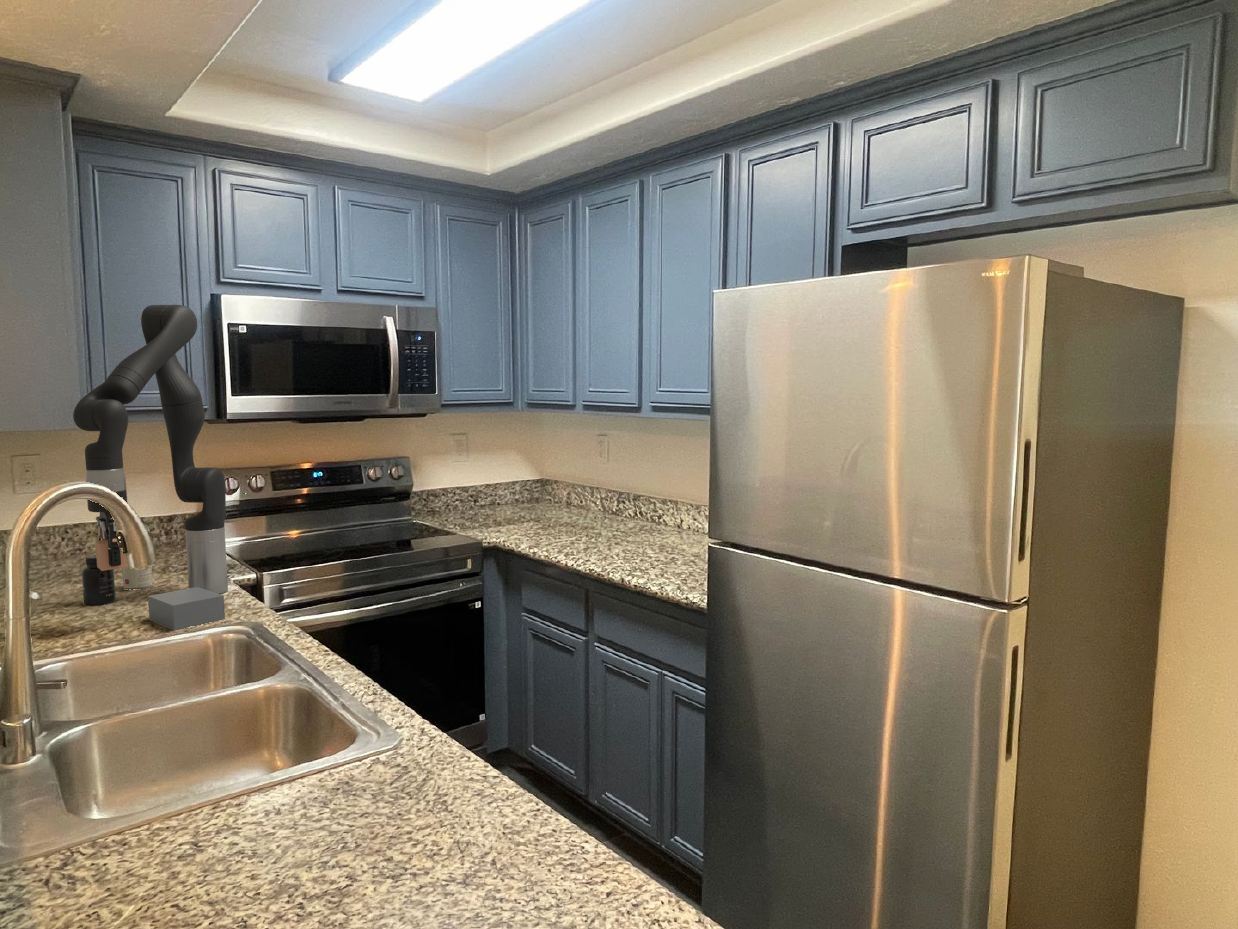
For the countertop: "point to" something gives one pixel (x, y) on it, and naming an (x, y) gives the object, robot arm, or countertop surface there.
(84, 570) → the supplement bottle
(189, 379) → the robot arm
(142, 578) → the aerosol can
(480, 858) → the countertop surface
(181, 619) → the charcoal storage box
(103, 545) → the terracotta block
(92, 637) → the countertop surface
